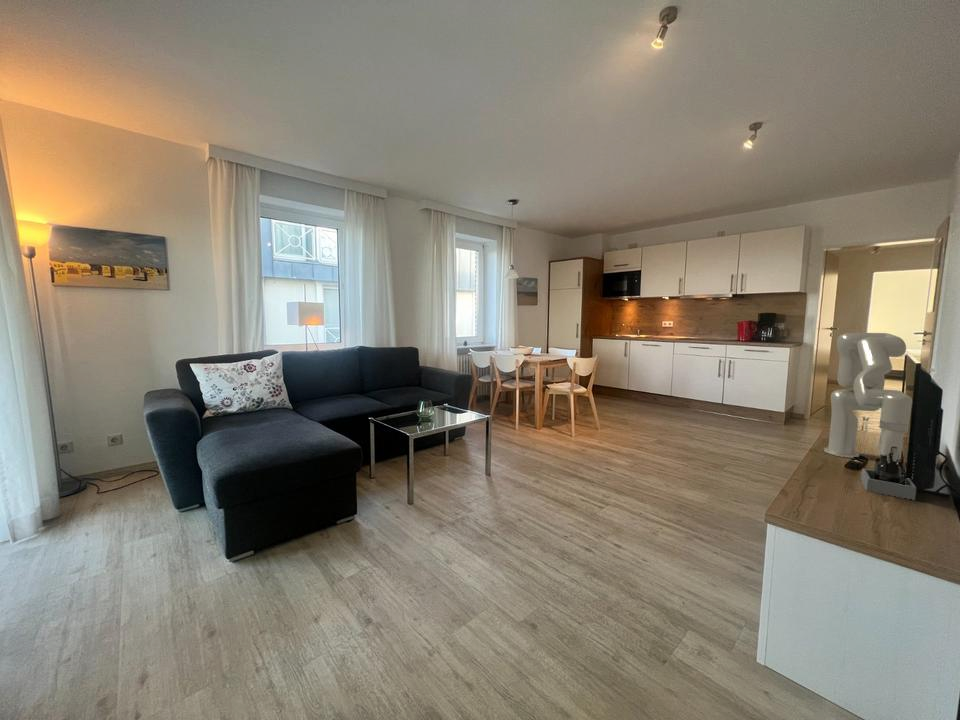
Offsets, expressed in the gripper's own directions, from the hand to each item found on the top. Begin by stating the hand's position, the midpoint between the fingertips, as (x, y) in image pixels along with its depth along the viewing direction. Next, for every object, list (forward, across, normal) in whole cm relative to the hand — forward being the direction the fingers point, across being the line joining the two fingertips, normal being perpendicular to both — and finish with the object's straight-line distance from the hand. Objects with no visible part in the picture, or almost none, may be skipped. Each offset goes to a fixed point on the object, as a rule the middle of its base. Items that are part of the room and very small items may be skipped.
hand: (887, 468), depth 150 cm
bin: (+8, +1, 0) cm, 8 cm away
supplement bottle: (+8, 0, 0) cm, 8 cm away
